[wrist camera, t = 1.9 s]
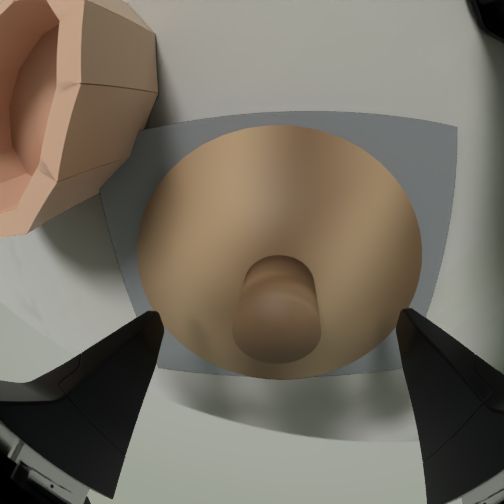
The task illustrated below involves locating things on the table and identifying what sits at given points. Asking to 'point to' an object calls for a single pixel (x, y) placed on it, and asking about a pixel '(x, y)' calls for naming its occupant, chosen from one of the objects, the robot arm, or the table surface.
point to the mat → (336, 123)
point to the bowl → (68, 102)
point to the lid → (279, 252)
